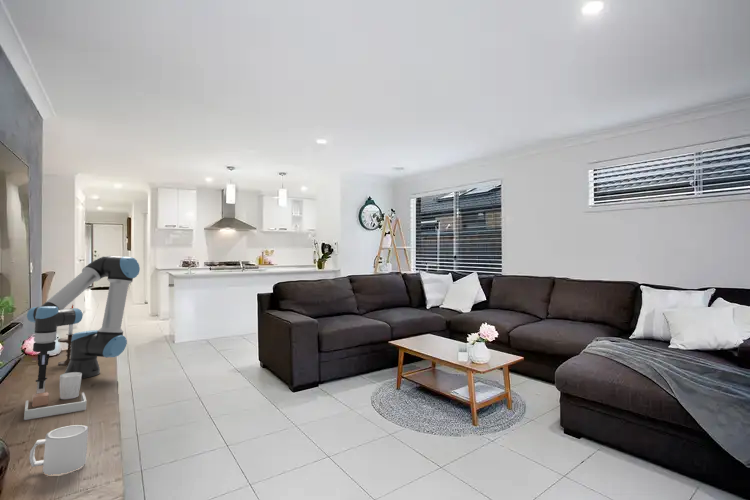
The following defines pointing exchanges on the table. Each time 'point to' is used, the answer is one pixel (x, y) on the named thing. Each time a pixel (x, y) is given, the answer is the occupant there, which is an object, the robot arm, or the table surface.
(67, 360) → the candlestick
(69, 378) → the white cup
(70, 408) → the frame
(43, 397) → the salmon pink block
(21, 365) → the table surface
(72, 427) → the mug
